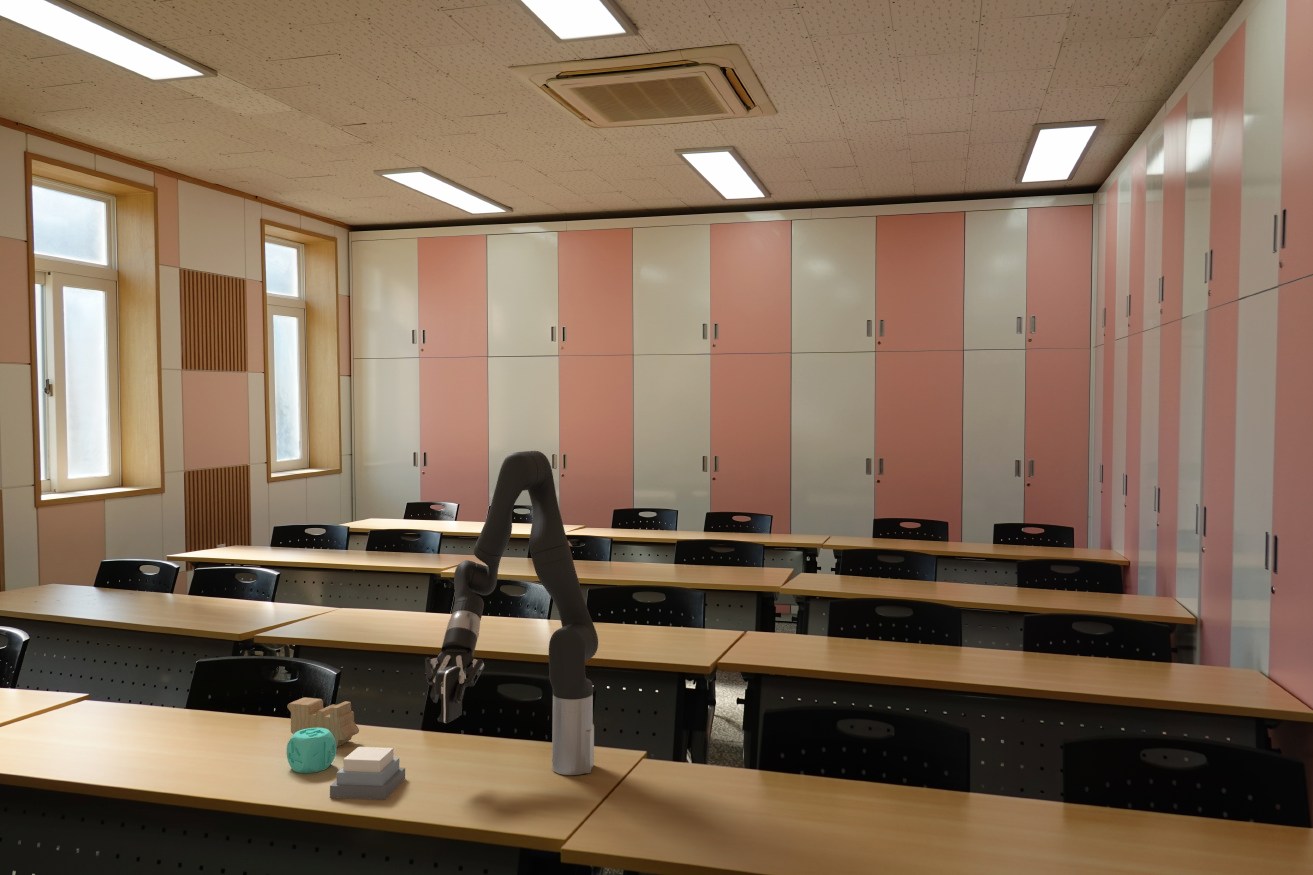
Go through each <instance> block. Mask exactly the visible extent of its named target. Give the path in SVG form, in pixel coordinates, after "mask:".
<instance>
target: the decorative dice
mask: <svg viewBox="0 0 1313 875" xmlns="http://www.w3.org/2000/svg"><path fill="white" fill-rule="evenodd" d="M336 754H337V747H336V741H335V738H334V736H333V734H332V733H331V732H330V731H329V730H328V729H325V728H308V729H303V730H300V731H297V732H296V733H295V734H294V735H293V734H292V736H291V737H290V738H289V740H288V742H287V745H286V758H287V762H288V764H289V767H290V768H291V769H292V770H293V771H294V772H296V773H299V774H313V773H312V772H315V773H318V771H319V772H322V771H324V770H326V769H328V768H329V767H330V766H331V764H332V763H333V762H334V760H335V757H336Z"/></svg>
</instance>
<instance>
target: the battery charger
mask: <svg viewBox="0 0 1313 875" xmlns="http://www.w3.org/2000/svg"><path fill="white" fill-rule="evenodd" d="M460 670H461V668H460V667H457V666H456V667H452V666H449V667H446V668H444V669H442V670H440V671H439V672H438V673H437V672H436V674H435V676H436V677H435V676H434V678H435V694H436V695H439V697H438V699H439V700H440V706H441V709H440V714H439V716H438V718H437V721H438V723H444V724H447V723H448V724H449V723H450V722H452V721H455V720H456V719H457V718H459V717H460V716H462V715H463V711H462V710H463V699H462V700H461V701H459V703H455V701H454V696H455V691H456V687H457V684H459V672H460Z"/></svg>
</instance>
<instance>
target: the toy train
mask: <svg viewBox="0 0 1313 875" xmlns="http://www.w3.org/2000/svg"><path fill="white" fill-rule="evenodd" d="M287 709H288V710H289V712H290V733H291V734H292V736H293V735H294V734H295V733H296V732H297V731H300V730H303V729H308V728H325V729H328V730H329V731H330V732H331V733H332V734H333V736H334V738H335V741H336V748H339V747H340V746H342V745H343V744H345V743H347V742H349V741H351V740H352V737H353V736H355V735H357V734H359V733H360V728H359V726H358V725H357V724H356V722H355V712H354V710H352V703H351V701H347V700H346V701H342V702H341V703H338V704H333V703H332V704H331V705H328V706H326V707H324V701H323V699H322V698H316V697H314V698H313V697H302V698H299V699H297V700H294V701H292V702H290V703H288V704H287Z"/></svg>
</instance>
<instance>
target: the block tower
mask: <svg viewBox="0 0 1313 875" xmlns="http://www.w3.org/2000/svg"><path fill="white" fill-rule="evenodd" d="M342 765H343V767H341V768H339V769H338V771H337V772H336V780H334V781H333V783H331V784H330V785H329V798H331V799H350V800H351V799H354V800H355V799H356V800H377V801H380V800H381V801H383V800H384V801H386V799H388V797H389V796H391V794H393V792H394V791H395V790H396V789H397V788H398V787H400V785H401V784H402V783H403V782H404V780H406V767H400V757H394V747H377V746H375V747H373V746H358V747H356V748H355V749H354V750H353V751H351V752H350V753H349V754H348V755H347V756H345V757H344V758H343V762H342Z"/></svg>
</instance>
